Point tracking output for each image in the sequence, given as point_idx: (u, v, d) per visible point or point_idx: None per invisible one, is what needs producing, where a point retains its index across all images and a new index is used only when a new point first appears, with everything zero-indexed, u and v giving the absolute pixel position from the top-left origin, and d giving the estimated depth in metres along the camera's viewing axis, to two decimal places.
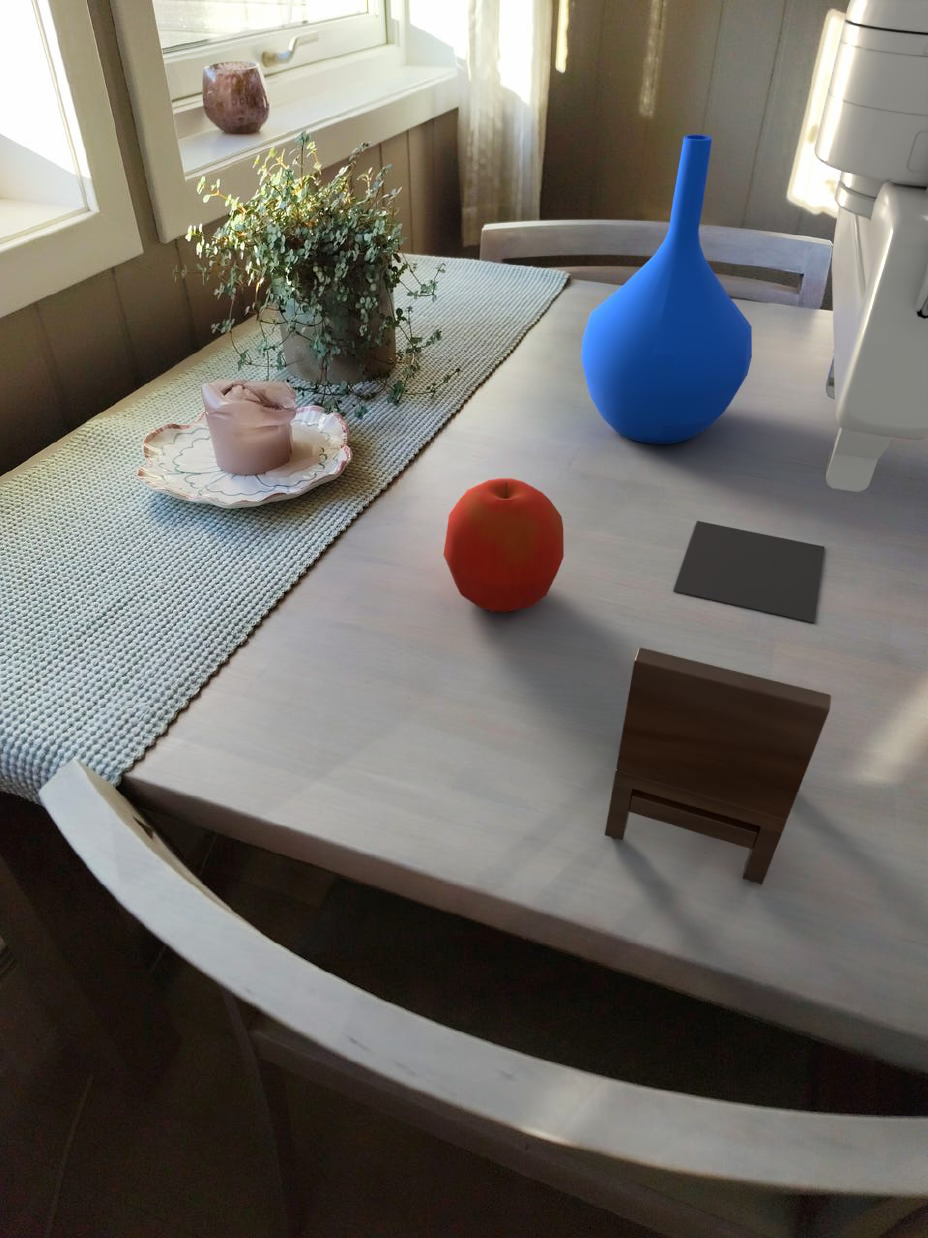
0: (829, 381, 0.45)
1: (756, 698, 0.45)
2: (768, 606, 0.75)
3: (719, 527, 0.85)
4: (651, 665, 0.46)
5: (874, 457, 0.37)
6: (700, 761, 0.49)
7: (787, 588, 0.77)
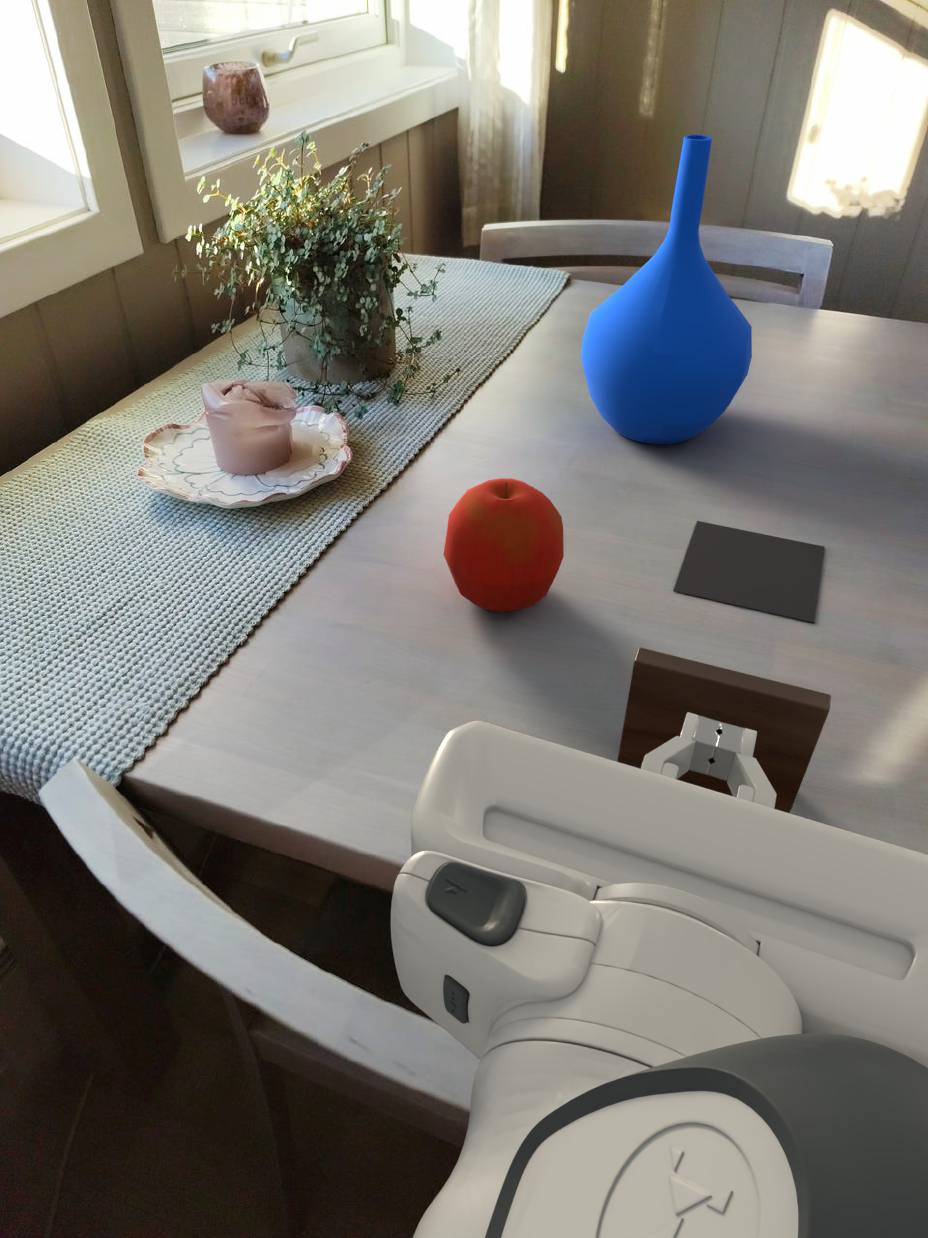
0: None
1: (756, 698, 0.45)
2: (768, 606, 0.75)
3: (719, 527, 0.85)
4: (651, 665, 0.46)
5: None
6: None
7: (787, 588, 0.77)
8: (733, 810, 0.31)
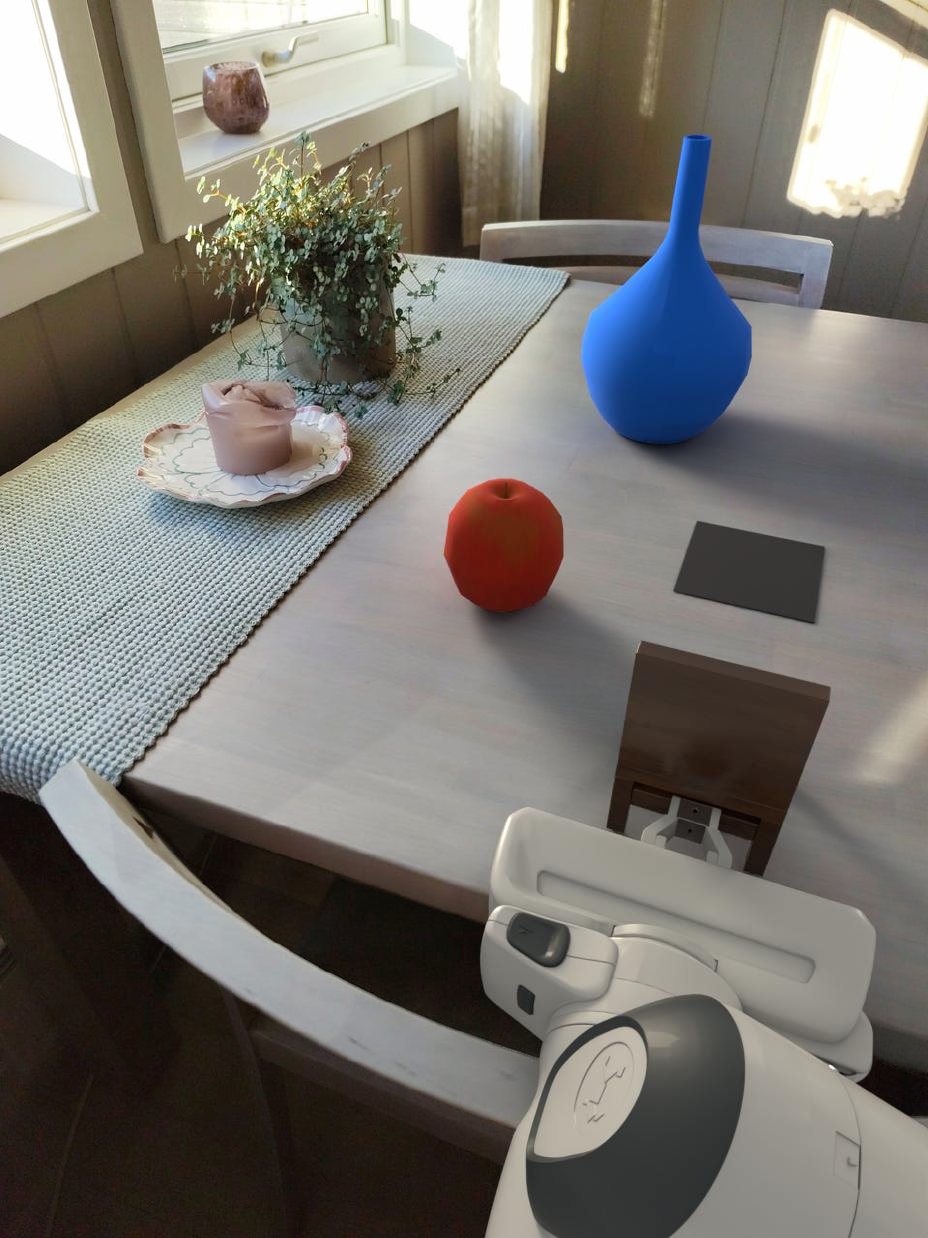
0: None
1: (757, 690, 0.45)
2: (768, 606, 0.75)
3: (719, 527, 0.85)
4: (652, 658, 0.47)
5: None
6: (701, 753, 0.49)
7: (787, 588, 0.77)
8: (702, 871, 0.47)
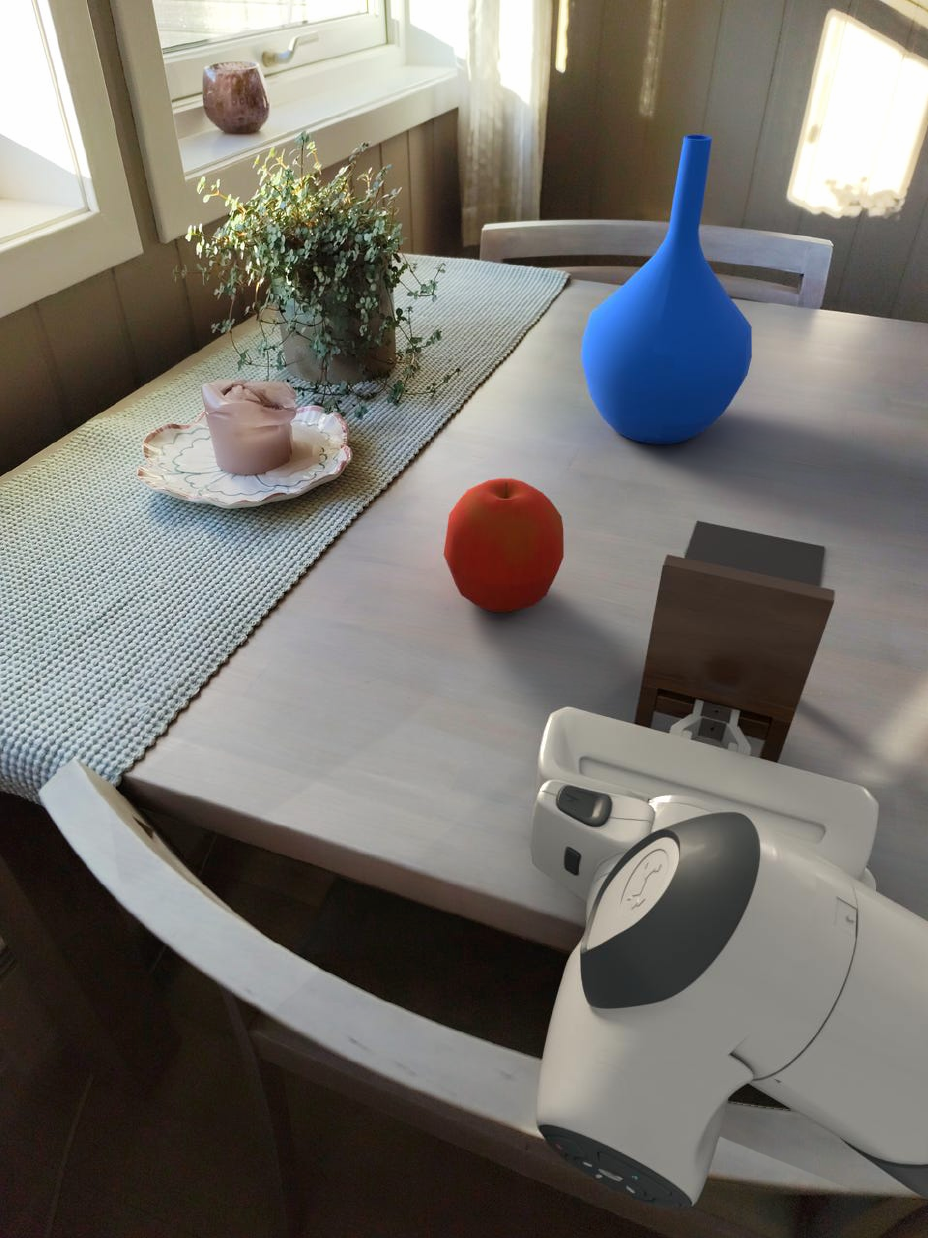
0: None
1: (770, 594, 0.51)
2: None
3: (719, 527, 0.85)
4: (678, 568, 0.53)
5: None
6: (720, 657, 0.56)
7: None
8: (725, 756, 0.53)
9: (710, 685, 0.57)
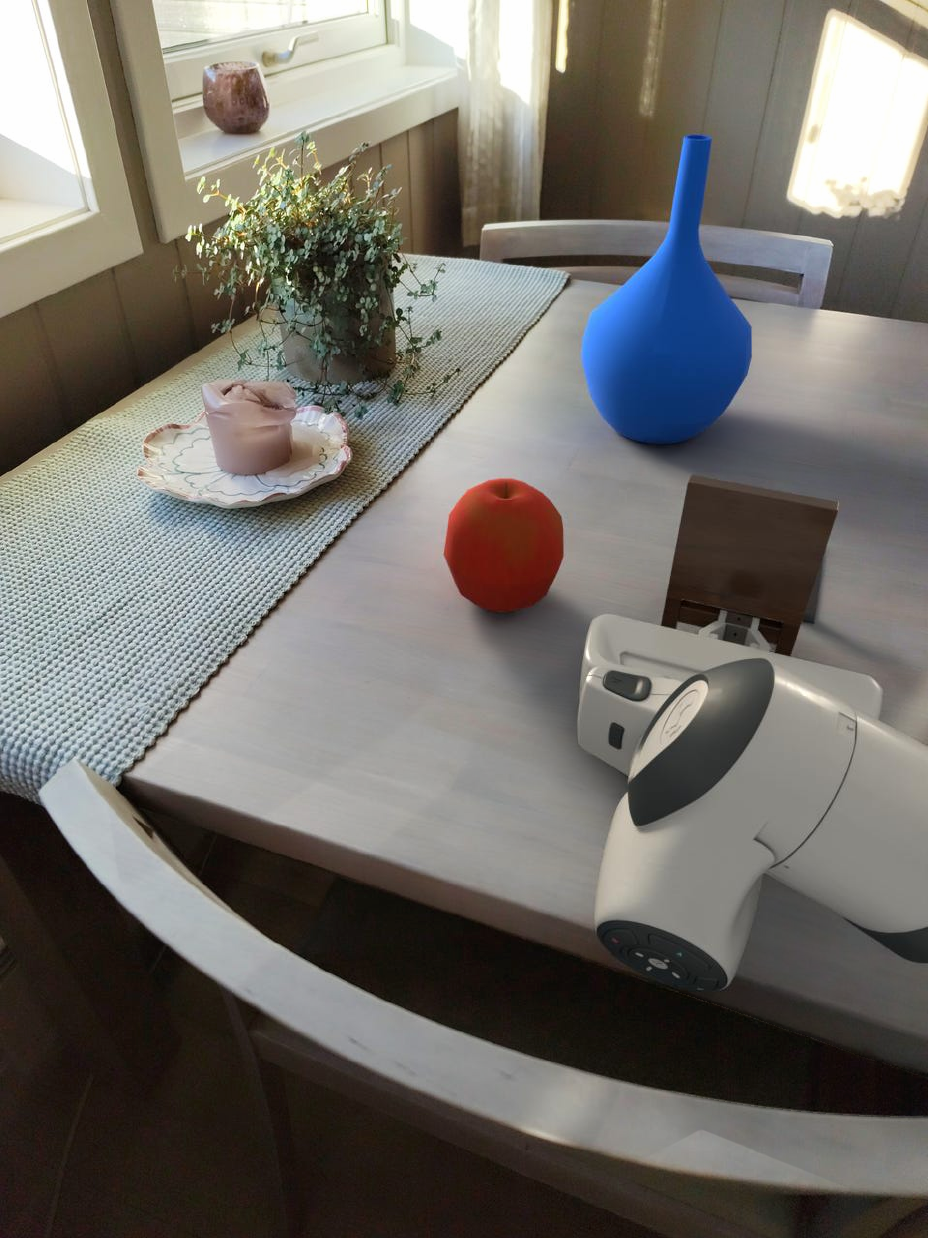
0: None
1: (782, 506, 0.59)
2: None
3: None
4: (701, 485, 0.60)
5: None
6: (737, 567, 0.63)
7: None
8: (748, 652, 0.60)
9: (728, 594, 0.65)
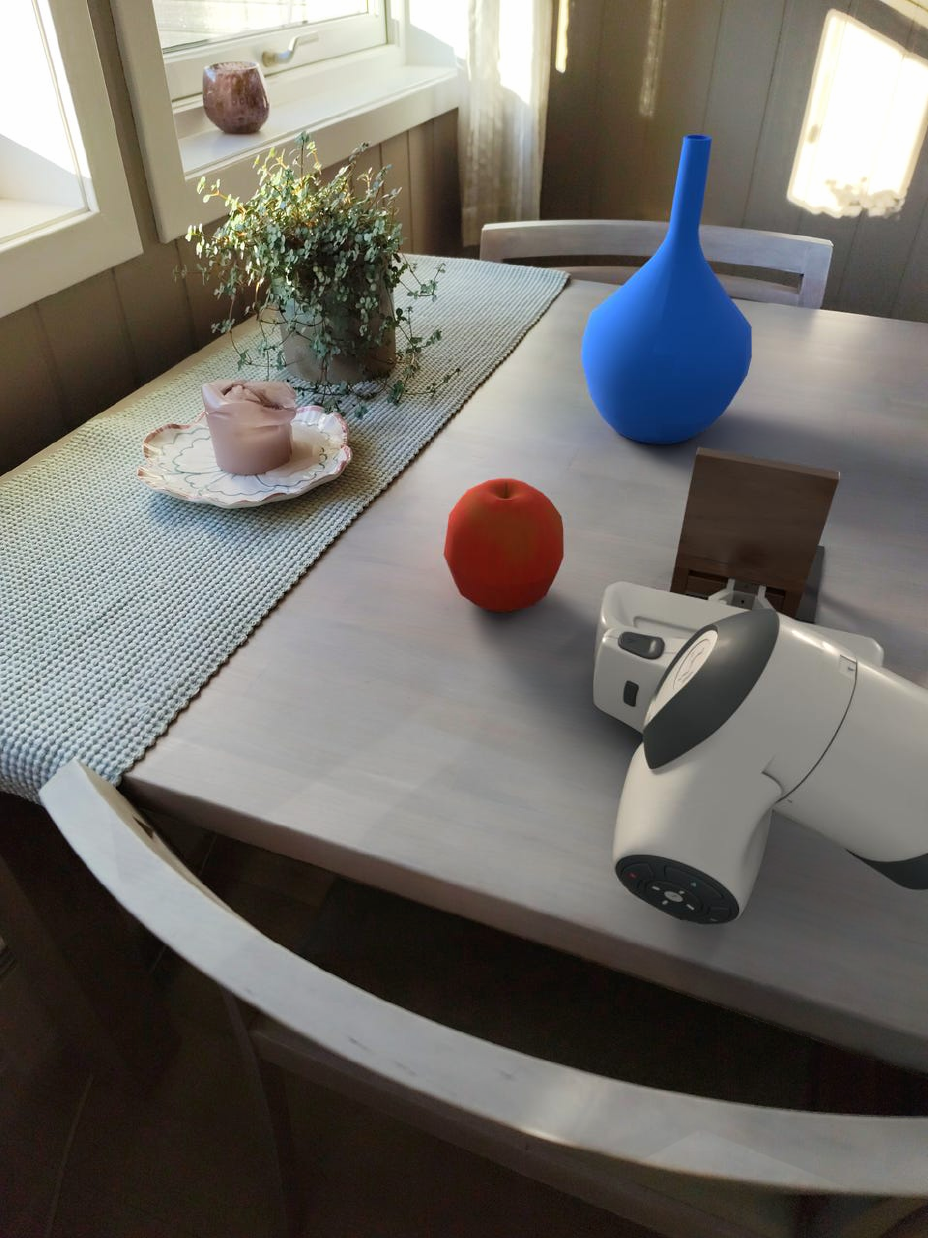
0: None
1: (786, 476, 0.62)
2: None
3: None
4: (708, 457, 0.63)
5: None
6: (742, 536, 0.66)
7: None
8: None
9: (734, 562, 0.68)
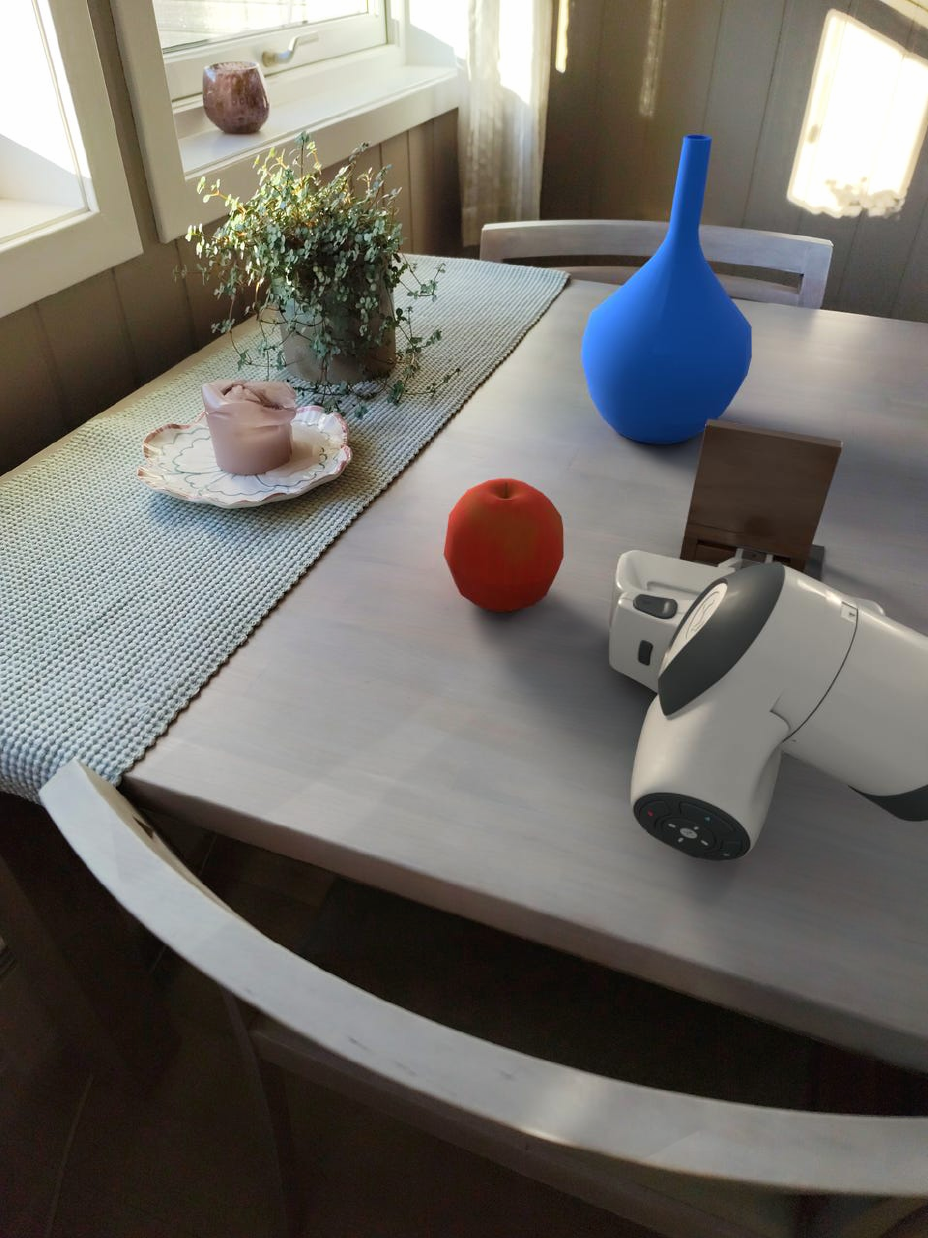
0: None
1: (791, 445, 0.65)
2: None
3: None
4: (717, 427, 0.67)
5: None
6: (750, 505, 0.69)
7: None
8: None
9: (741, 531, 0.71)
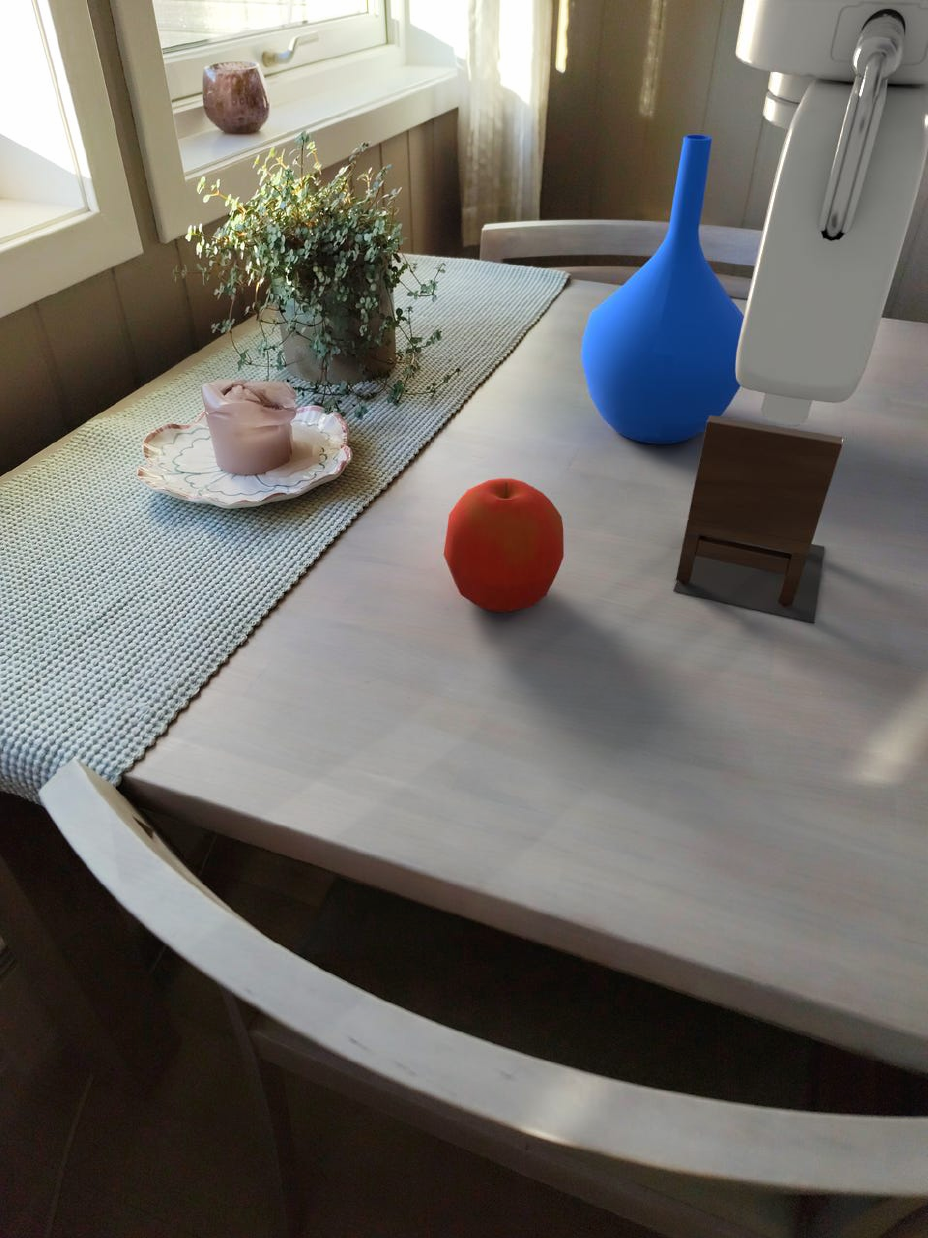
0: None
1: (792, 441, 0.66)
2: (768, 606, 0.75)
3: None
4: (719, 424, 0.67)
5: None
6: (751, 501, 0.70)
7: None
8: None
9: (742, 527, 0.71)
